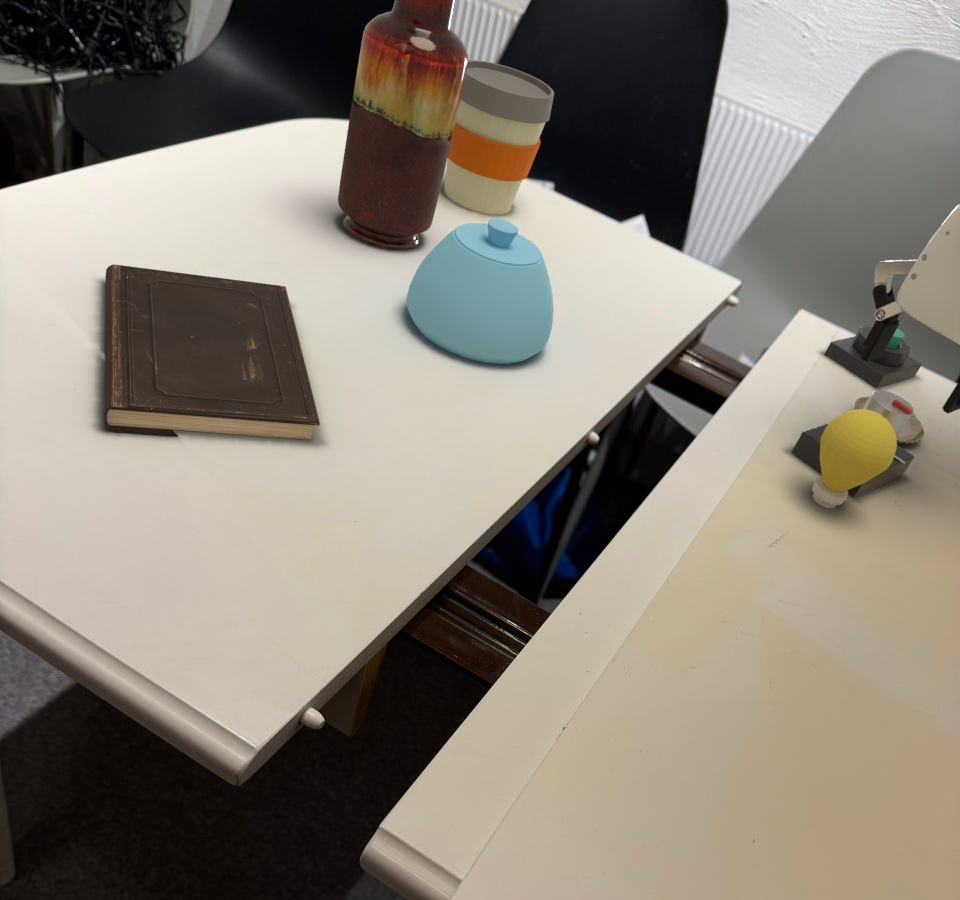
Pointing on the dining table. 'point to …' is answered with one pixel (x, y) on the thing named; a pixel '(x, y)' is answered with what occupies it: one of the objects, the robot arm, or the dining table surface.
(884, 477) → the washer panel
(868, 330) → the block
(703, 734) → the dining table surface
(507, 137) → the reusable coffee cup
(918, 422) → the seashell
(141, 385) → the hardcover book
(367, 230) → the vase
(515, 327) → the sugar bowl
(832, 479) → the light bulb
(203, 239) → the dining table surface
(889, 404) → the program dial
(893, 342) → the button
